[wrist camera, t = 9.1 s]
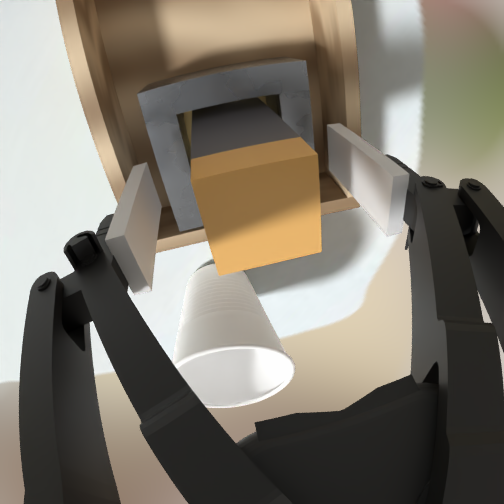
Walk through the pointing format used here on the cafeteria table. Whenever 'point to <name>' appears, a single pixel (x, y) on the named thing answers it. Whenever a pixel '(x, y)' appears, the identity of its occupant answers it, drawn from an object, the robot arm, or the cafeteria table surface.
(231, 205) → the connector
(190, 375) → the cup
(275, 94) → the frame
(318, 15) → the tray
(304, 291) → the cafeteria table surface
